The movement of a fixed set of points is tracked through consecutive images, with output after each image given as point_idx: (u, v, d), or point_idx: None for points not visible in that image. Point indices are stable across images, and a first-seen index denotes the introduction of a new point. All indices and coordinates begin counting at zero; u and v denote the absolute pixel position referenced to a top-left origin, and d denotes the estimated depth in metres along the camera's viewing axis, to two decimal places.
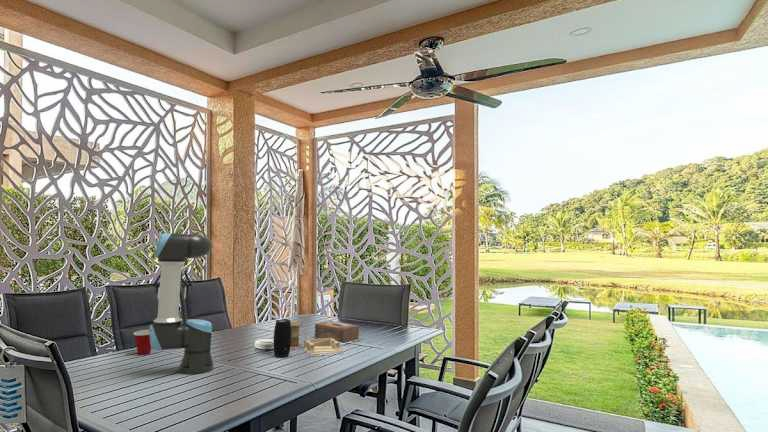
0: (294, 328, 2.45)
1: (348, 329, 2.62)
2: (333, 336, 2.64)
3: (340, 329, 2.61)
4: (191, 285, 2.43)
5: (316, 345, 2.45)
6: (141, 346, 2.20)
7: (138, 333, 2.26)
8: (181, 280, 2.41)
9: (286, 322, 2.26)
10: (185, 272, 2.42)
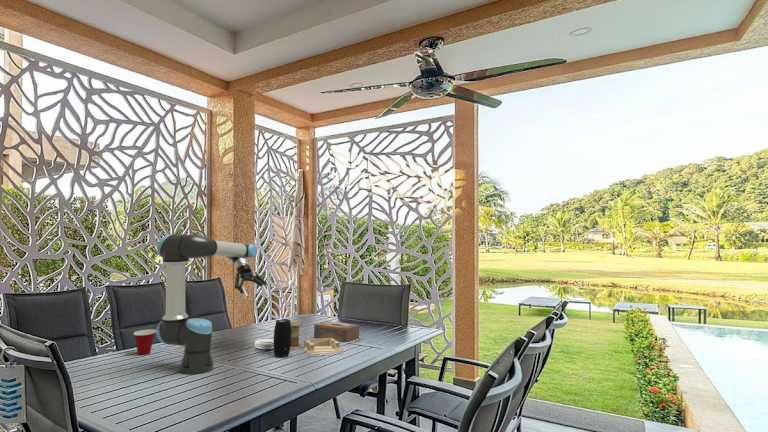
0: (294, 328, 2.45)
1: (351, 329, 2.64)
2: (335, 336, 2.64)
3: (343, 329, 2.61)
4: (266, 283, 2.46)
5: (316, 345, 2.45)
6: (141, 346, 2.20)
7: (138, 333, 2.26)
8: (257, 280, 2.43)
9: (286, 322, 2.26)
10: (256, 273, 2.47)
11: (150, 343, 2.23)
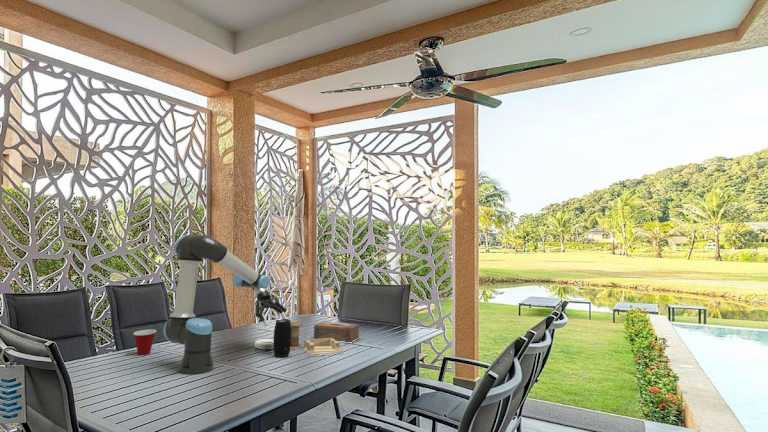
0: (294, 328, 2.45)
1: (353, 328, 2.66)
2: (337, 336, 2.64)
3: (346, 329, 2.63)
4: None
5: (316, 345, 2.45)
6: (141, 346, 2.20)
7: (138, 333, 2.26)
8: (276, 307, 2.42)
9: (286, 322, 2.26)
10: (276, 300, 2.46)
11: (150, 343, 2.23)
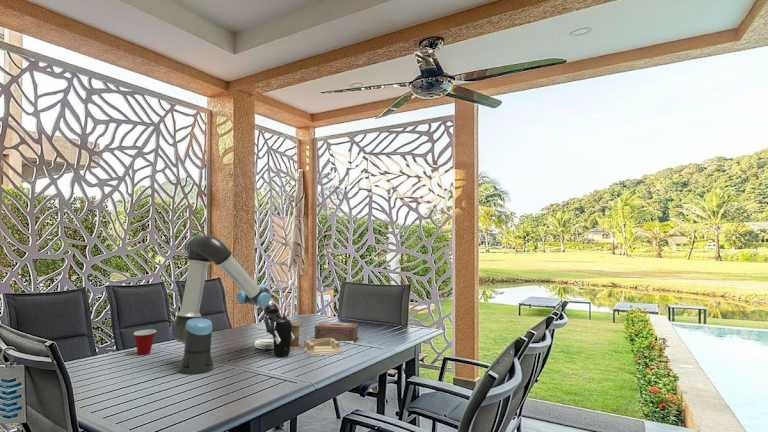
0: (294, 328, 2.45)
1: (355, 327, 2.68)
2: (340, 336, 2.64)
3: (349, 328, 2.64)
4: (292, 326, 2.35)
5: (316, 345, 2.45)
6: (141, 346, 2.20)
7: (138, 333, 2.26)
8: None
9: (286, 322, 2.26)
10: (284, 315, 2.38)
11: (150, 343, 2.23)
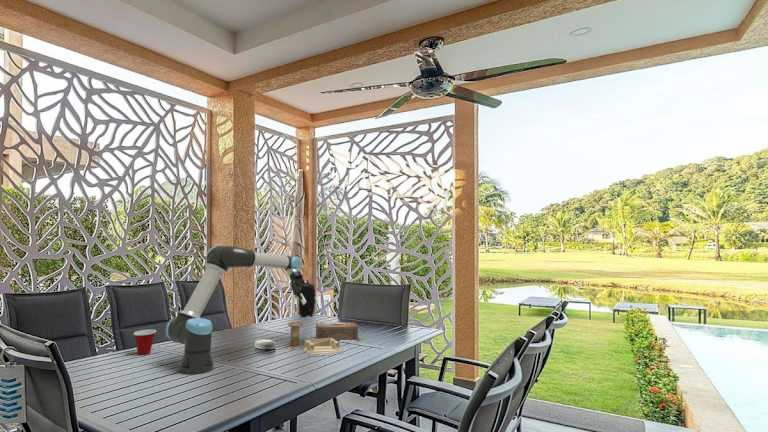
0: (294, 328, 2.45)
1: None
2: (344, 336, 2.66)
3: (353, 327, 2.68)
4: None
5: (316, 345, 2.45)
6: (141, 346, 2.20)
7: (138, 333, 2.26)
8: None
9: (311, 286, 2.52)
10: (307, 281, 2.64)
11: (150, 343, 2.23)
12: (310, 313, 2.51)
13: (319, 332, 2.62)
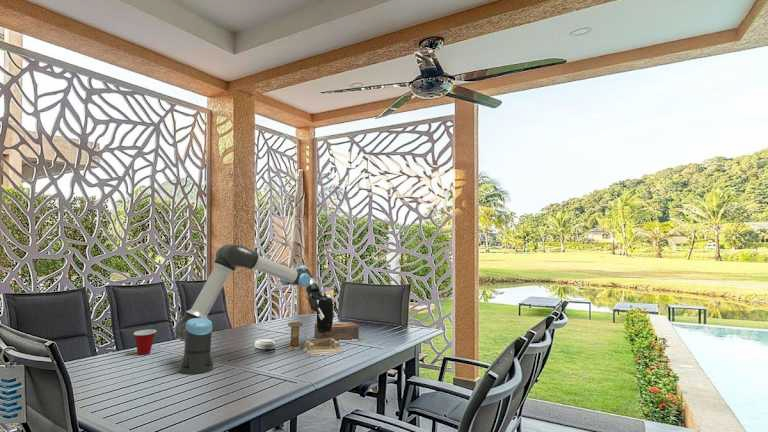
0: (294, 328, 2.45)
1: None
2: (346, 335, 2.67)
3: (354, 327, 2.70)
4: (333, 304, 2.49)
5: (316, 345, 2.45)
6: (141, 346, 2.20)
7: (138, 333, 2.26)
8: None
9: (329, 300, 2.39)
10: (325, 294, 2.51)
11: (150, 343, 2.23)
12: (328, 328, 2.38)
13: (322, 333, 2.61)
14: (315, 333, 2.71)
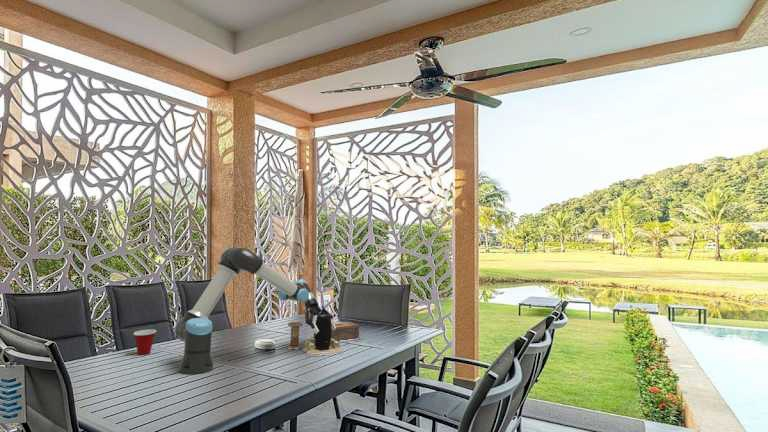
0: (294, 328, 2.45)
1: None
2: (347, 335, 2.68)
3: (355, 326, 2.72)
4: (333, 317, 2.50)
5: None
6: (141, 346, 2.20)
7: (138, 333, 2.26)
8: None
9: (327, 316, 2.38)
10: (323, 307, 2.51)
11: (150, 343, 2.23)
12: (327, 345, 2.37)
13: None
14: None
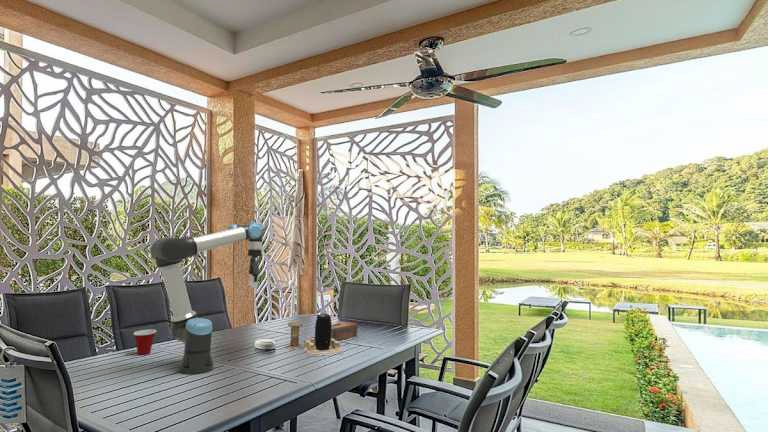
0: (294, 328, 2.45)
1: None
2: (349, 334, 2.71)
3: (354, 325, 2.76)
4: None
5: None
6: (141, 346, 2.20)
7: (138, 333, 2.26)
8: None
9: (327, 317, 2.38)
10: None
11: (150, 343, 2.23)
12: (327, 346, 2.37)
13: (333, 334, 2.58)
14: None
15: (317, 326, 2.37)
